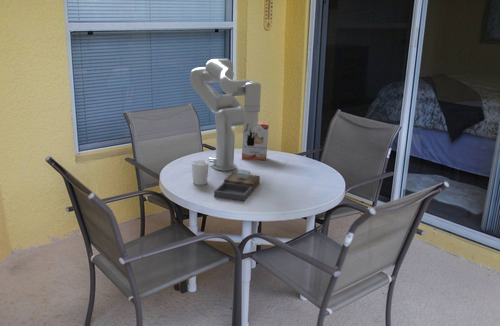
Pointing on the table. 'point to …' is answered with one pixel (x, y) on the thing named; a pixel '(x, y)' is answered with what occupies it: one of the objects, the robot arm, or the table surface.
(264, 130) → the cracker box
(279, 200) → the table surface
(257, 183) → the board
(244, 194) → the tray
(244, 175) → the tile
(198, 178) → the white cup
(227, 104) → the robot arm
